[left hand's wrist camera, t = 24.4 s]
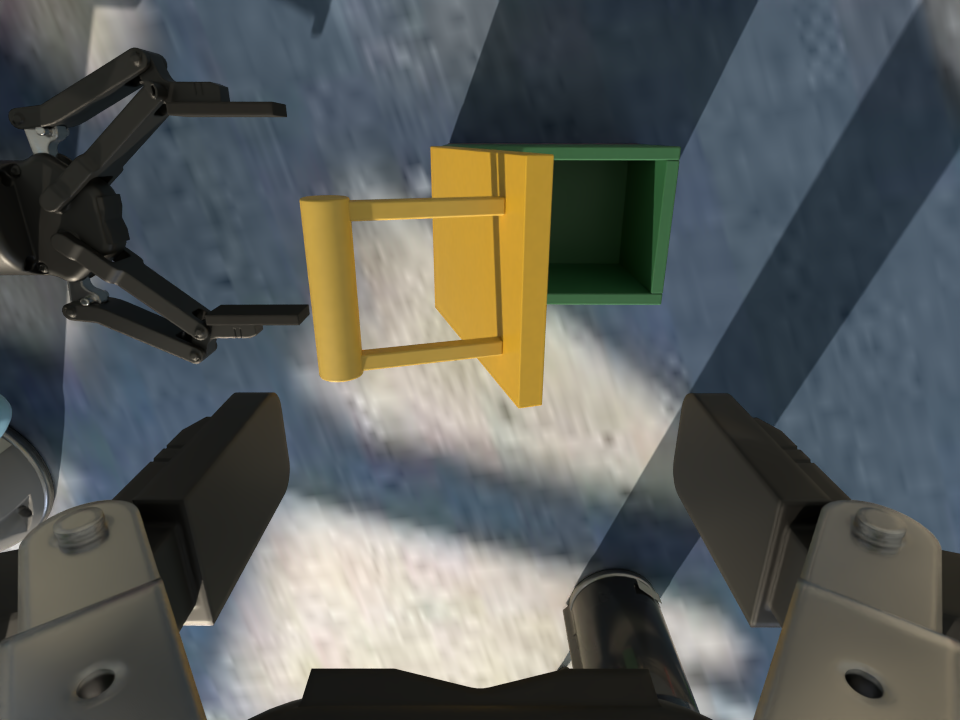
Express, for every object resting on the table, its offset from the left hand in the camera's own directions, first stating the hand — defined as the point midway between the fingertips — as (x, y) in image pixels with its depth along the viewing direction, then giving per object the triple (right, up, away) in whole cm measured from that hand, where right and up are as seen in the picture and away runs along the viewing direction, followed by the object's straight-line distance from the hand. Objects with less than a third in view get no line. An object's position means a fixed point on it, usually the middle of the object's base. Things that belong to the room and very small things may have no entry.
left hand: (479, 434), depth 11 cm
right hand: (-13, +11, +27) cm, 32 cm away
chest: (+5, +14, +34) cm, 37 cm away
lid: (0, +7, +17) cm, 19 cm away
